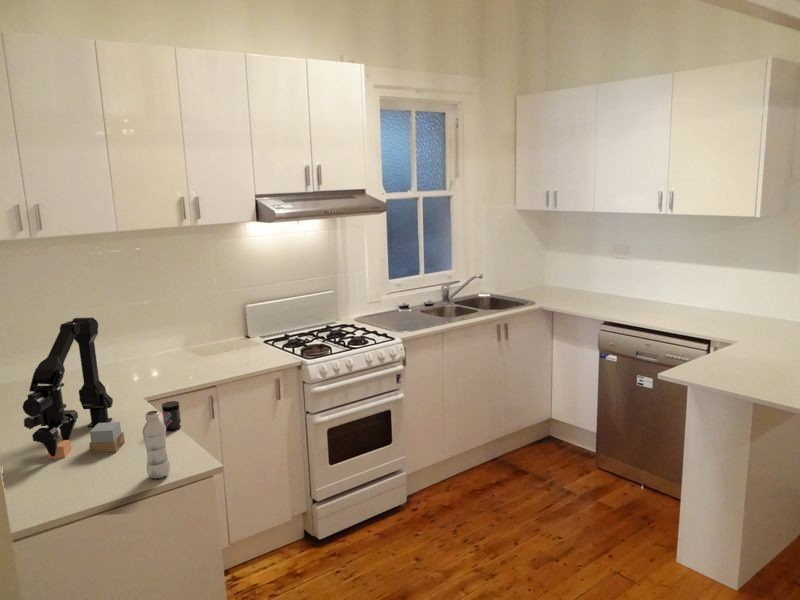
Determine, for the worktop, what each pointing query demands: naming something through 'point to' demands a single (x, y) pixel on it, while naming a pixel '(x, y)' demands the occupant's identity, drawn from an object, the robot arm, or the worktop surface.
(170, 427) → the supplement container
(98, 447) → the walnut base block
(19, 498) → the worktop surface
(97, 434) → the slate top block
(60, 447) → the terracotta block
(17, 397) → the worktop surface
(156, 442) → the plastic bottle
